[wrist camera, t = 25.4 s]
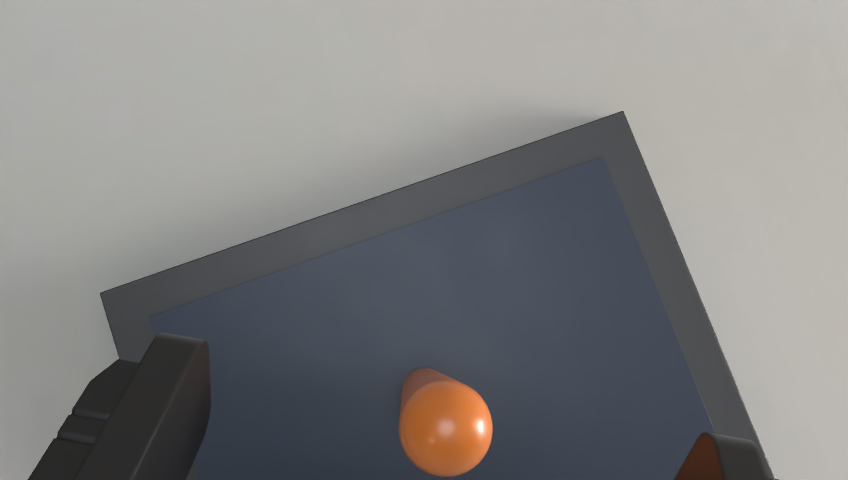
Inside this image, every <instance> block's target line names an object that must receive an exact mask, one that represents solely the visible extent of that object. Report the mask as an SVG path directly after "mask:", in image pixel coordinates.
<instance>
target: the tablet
mask: <svg viewBox="0 0 848 480" xmlns="http://www.w3.org/2000/svg"><path fill="white" fill-rule="evenodd" d="M100 296H101V299H102V302H103V306H104V309H105V312H106V316H107V319H108V322H109V325H110V329H111V332H112V335H113V339H114V342H115V345H116V349H117V352H118V355H119V359H121V360H127V361H132V362H138V363H140V361H141V360H142V358H143V356H144V354H145V353H146V351H147V349H148V347H149V346H150V344H151V342H152V341H153V339H154V338H155V336H156V335H157V334H158V333H161V332H163V333H168V334H174V335H179V336H185V337H190V338H196V339H202V340H206V341H207V342H208V345H209V358H210V383H211V411H210V417H209V422H208V426H207V429H206V433H205V436H204V439H203V441H202V443H201V446H200V448H199V450H198V453H197V455H196V457H195V460H194V462H193V464H192V467H191V469H190V471H189V474H188V476H187V478H186V480H674V478H675V476H676V474H677V473H678V471H679V469H680V468H681V466H682V464H683V462H684V461H685V459H686V457H687V455H688V454H689V452H690V450H691V448H692V447H693V445H694V443H695V442H696V440H697V438H698V437H699V436H700V434H702V433H703V432H708V433H714V434H719V435H725V436H731V437H736V438H742V439H747V440H752V441H753V442H755V444H756V445H757V446H758V448H759V450H760V453H761V456H762V459H763V462H764V465H765V468H766V472H767V475H768V478H772V479H775V477H774V475H773V472H772V470H771V467H770V465H769V462H768V460H767V458H766V455H765V453H764V450H763V448H762V446H761V443H760V441H759V438H758V436H757V433H756V431H755V429H754V426H753V424H752V421H751V419H750V417H749V414H748V412H747V409H746V407H745V404H744V402H743V400H742V397H741V395H740V392H739V390H738V387H737V385H736V383H735V380H734V378H733V375H732V373H731V371H730V368H729V366H728V363H727V361H726V358H725V356H724V354H723V351H722V349H721V346H720V344H719V342H718V339H717V337H716V334H715V332H714V329H713V327H712V325H711V322H710V320H709V317H708V315H707V312H706V310H705V308H704V305H703V303H702V300H701V298H700V296H699V293H698V291H697V288H696V286H695V283H694V281H693V279H692V276H691V274H690V271H689V269H688V267H687V264H686V262H685V259H684V257H683V254H682V252H681V250H680V247H679V245H678V242H677V240H676V238H675V235H674V233H673V230H672V228H671V225H670V223H669V221H668V218H667V216H666V213H665V211H664V208H663V206H662V204H661V201H660V199H659V196H658V194H657V192H656V189H655V187H654V184H653V182H652V179H651V177H650V175H649V172H648V170H647V167H646V165H645V163H644V160H643V158H642V155H641V153H640V150H639V148H638V146H637V143H636V141H635V138H634V136H633V133H632V131H631V129H630V126H629V124H628V121H627V119H626V117H625V114H624V112H623V111H621V112H618V113H615V114H612V115H609V116H607V117H604V118H601V119H598V120H595V121H592V122H589V123H586V124H584V125H581V126H578V127H575V128H572V129H569V130H566V131H563V132H561V133H558V134H555V135H552V136H549V137H546V138H543V139H540V140H538V141H535V142H532V143H529V144H526V145H523V146H520V147H518V148H515V149H512V150H509V151H506V152H503V153H500V154H497V155H495V156H492V157H489V158H486V159H483V160H480V161H477V162H474V163H472V164H469V165H466V166H463V167H460V168H457V169H454V170H451V171H449V172H446V173H443V174H440V175H437V176H434V177H431V178H428V179H426V180H423V181H420V182H417V183H414V184H411V185H408V186H405V187H403V188H400V189H397V190H394V191H391V192H388V193H385V194H382V195H380V196H377V197H374V198H371V199H368V200H365V201H362V202H359V203H357V204H354V205H351V206H348V207H345V208H342V209H339V210H337V211H334V212H331V213H328V214H325V215H322V216H319V217H316V218H314V219H311V220H308V221H305V222H302V223H299V224H296V225H293V226H291V227H288V228H285V229H282V230H279V231H276V232H273V233H270V234H268V235H265V236H262V237H259V238H256V239H253V240H250V241H247V242H245V243H242V244H239V245H236V246H233V247H230V248H227V249H224V250H222V251H219V252H216V253H213V254H210V255H207V256H204V257H201V258H199V259H196V260H193V261H190V262H187V263H184V264H181V265H179V266H176V267H173V268H170V269H167V270H164V271H161V272H158V273H156V274H153V275H150V276H147V277H144V278H141V279H138V280H135V281H133V282H130V283H127V284H124V285H121V286H118V287H115V288H112V289H110V290H107V291H104V292H101V293H100ZM421 368H429V369H433V370H435V371H437V372H439V373H442V374H444V375H446V376H448V377H450V378H452V379H455V380H457V381H459V382H461V383H463V384H465V385H467V386H469V387H471V388H472V389H473V390H475V391H476V392H477V393H478V394H479V395H480V396H481V397H482V399H483V400H484V402H485V403H486V405H487V407H488V409H489V411H490V414H491V418H492V424H493V433H492V439H491V444H490V446H489V449H488V451H487V453H486V455H485V456H484V457H483V459H482V460H481V461H480V462H479V463H478V464H477V465H476V466H475V467H474V468H473V469H471V470H469V471H468V472H466V473H463V474H461V475H457V476H452V477H439V476H434V475H431V474H428V473H426V472H424V471H422V470H421V469H419V468H418V467H417V466H415V465H414V464H413V463H412V462H411V461H410V459H409V458H408V457H407V455H406V453H405V452H404V450H403V447H402V445H401V442H400V438H399V415H400V405H401V394H402V386H403V383H404V381H405V379H406V378H407V376H408V375H409V374H410V373H412V372H413V371H415V370H417V369H421Z"/></svg>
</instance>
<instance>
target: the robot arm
mask: <svg viewBox="0 0 848 480" xmlns="http://www.w3.org/2000/svg"><path fill="white" fill-rule="evenodd" d="M210 411H211V383H210V358H209V345H208V342H207V341H206V340H202V339H196V338H190V337H185V336H179V335H174V334H168V333H163V332H161V333H158V334H157V335H156V336H155V338H154V339H153V341H152V342H151V344H150V346H149V347H148V349H147V351H146V353H145V354H144V356H143V358H142V360H141V361H140V363H138V362H132V361H127V360H121V359H118V360H117V361H115V362H114V363H113V364H112V365H110V366H109V367H108V368H106V369H105V370H104V371H103V372H101V373H100V374H99V375H97V376H96V377H95V378H94V379H92V380H91V381H90V382H89V384H88V385H87V387H86V388H85V390H84V392H83V393H82V395H81V396H80V398H79V400H78V401H77V403H76V404H75V406H74V407H73V409H72V414H71V415H68V417H67V418H66V420H65V422H64V423H63V425H62V426H61V428H60V430H59V431H58V435H57V438H56V439H55V438H54V439H53V441H52V442H51V444H50V445H49V447H48V449H47V450H46V452H45V453H44V455H43V456H42V458H41V460H40V461H39V463H38V464H37V466H36V468H35V469H34V471H33V472H32V474H31V475H30V477H29V479H28V480H186V478H187V476H188V474H189V471H190V469H191V467H192V464H193V462H194V460H195V457H196V455H197V453H198V450H199V448H200V446H201V443H202V441H203V439H204V436H205V433H206V429H207V426H208V422H209V417H210ZM674 480H777V479H772V478H768V475H767V472H766V468H765V465H764V462H763V459H762V456H761V453H760V450H759V448H758V446H757V445H756V444H755V442H753V441H752V440H747V439H742V438H736V437H731V436H725V435H719V434H714V433H708V432H703V433H702V434H700V436H699V437H698V438H697V440H696V442H695V443H694V445H693V447H692V448H691V450H690V452H689V454H688V455H687V457H686V459H685V461H684V462H683V464H682V466H681V468H680V469H679V471H678V473H677V474H676V476H675V478H674Z"/></svg>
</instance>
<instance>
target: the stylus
mask: <svg viewBox="0 0 848 480" xmlns="http://www.w3.org/2000/svg"><path fill="white" fill-rule="evenodd" d="M492 433H493V424H492V418H491V414H490V411H489V409H488V407H487V405H486V403H485V402H484V400H483V399H482V397H481V396H480V395H479V394H478V393H477V392H476V391H475V390H473V389H472V388H471V387H469V386H467V385H465V384H463V383H461V382H459V381H457V380H455V379H452V378H450V377H448V376H446V375H444V374H442V373H439V372H437V371H435V370H433V369H429V368H421V369H417V370H415V371H413V372H412V373H410V374H409V375H408V376H407V378H406V379H405V381H404V383H403V386H402V394H401V405H400V415H399V438H400V442H401V445H402V447H403V450H404V452H405V453H406V455H407V457H408V458H409V459H410V461H411V462H412V463H413V464H414V465H415V466H417V467H418V468H419V469H421V470H422V471H424V472H426V473H428V474H431V475H434V476H439V477H452V476H457V475H461V474H463V473H466V472H468V471H469V470H471V469H473V468H474V467H475V466H476V465H477V464H478V463H479V462H480V461H481V460H482V459H483V457H484V456H485V455H486V453H487V451H488V449H489V446H490V444H491V439H492Z"/></svg>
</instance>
